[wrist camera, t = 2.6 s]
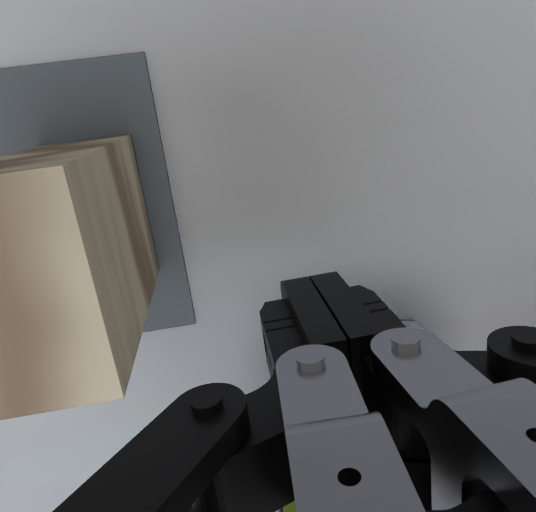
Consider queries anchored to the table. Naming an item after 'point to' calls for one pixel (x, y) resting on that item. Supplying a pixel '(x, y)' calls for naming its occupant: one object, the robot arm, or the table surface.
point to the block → (72, 274)
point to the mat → (99, 126)
